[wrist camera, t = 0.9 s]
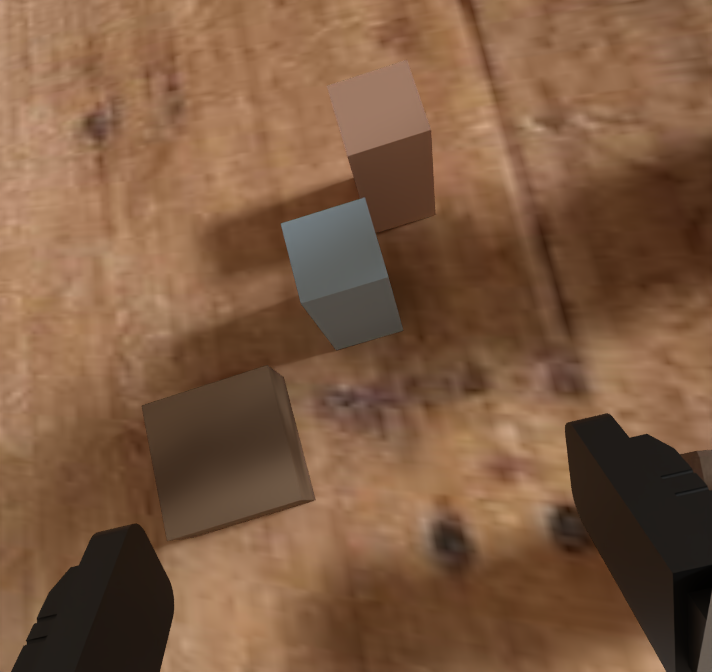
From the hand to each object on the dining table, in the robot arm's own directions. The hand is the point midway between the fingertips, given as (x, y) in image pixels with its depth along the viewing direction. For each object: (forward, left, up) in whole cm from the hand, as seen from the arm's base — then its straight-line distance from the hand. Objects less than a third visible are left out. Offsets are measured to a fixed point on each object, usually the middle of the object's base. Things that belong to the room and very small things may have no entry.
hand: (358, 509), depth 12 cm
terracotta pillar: (-17, -11, -27) cm, 34 cm away
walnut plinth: (+3, -11, -27) cm, 30 cm away
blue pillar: (-9, -9, -27) cm, 30 cm away
